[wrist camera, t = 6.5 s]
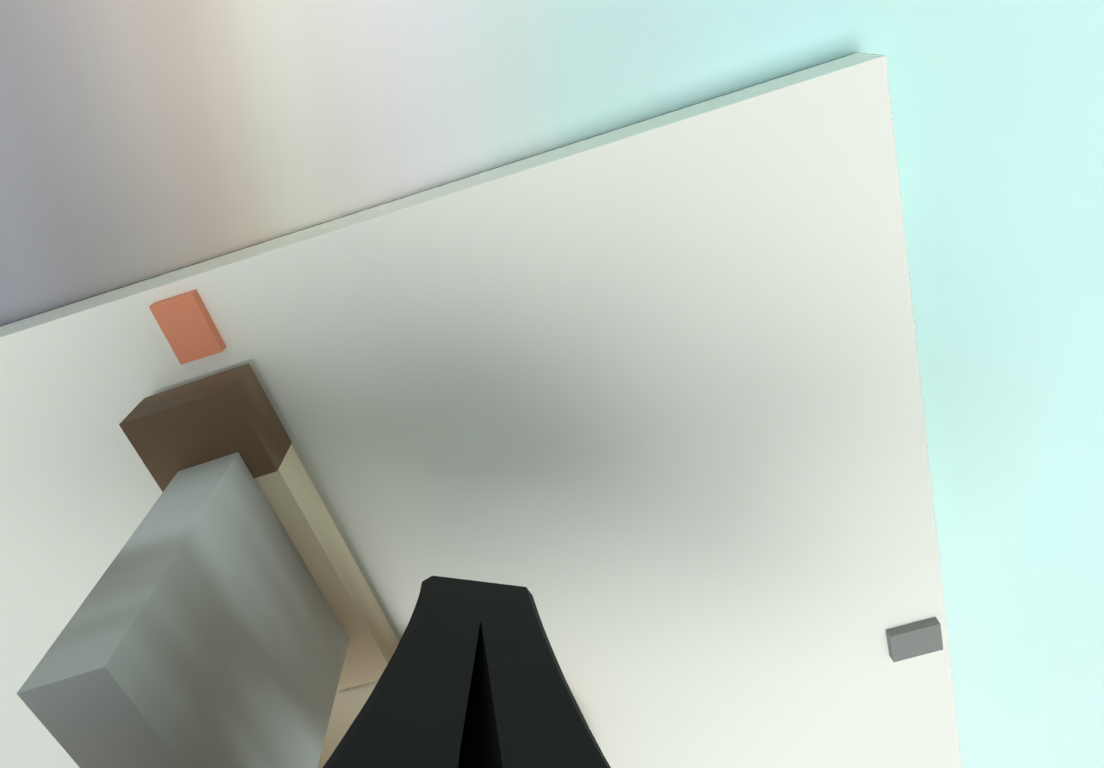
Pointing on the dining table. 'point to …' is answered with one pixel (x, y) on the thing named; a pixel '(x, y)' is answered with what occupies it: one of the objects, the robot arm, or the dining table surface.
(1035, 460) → the dining table surface
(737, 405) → the dial base
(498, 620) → the robot arm
